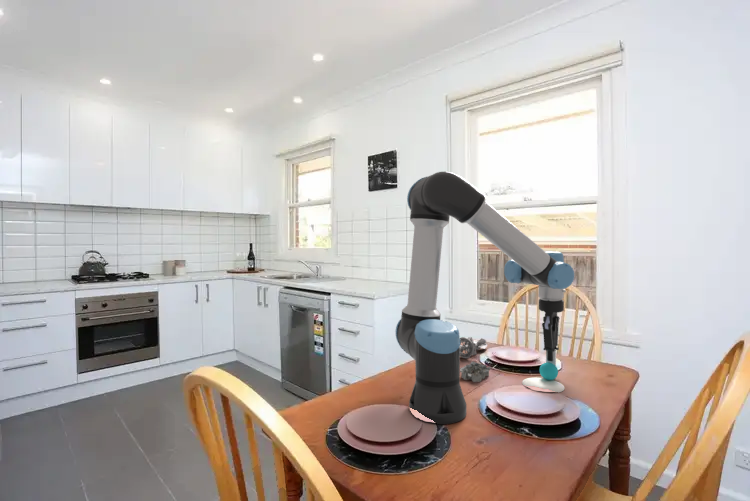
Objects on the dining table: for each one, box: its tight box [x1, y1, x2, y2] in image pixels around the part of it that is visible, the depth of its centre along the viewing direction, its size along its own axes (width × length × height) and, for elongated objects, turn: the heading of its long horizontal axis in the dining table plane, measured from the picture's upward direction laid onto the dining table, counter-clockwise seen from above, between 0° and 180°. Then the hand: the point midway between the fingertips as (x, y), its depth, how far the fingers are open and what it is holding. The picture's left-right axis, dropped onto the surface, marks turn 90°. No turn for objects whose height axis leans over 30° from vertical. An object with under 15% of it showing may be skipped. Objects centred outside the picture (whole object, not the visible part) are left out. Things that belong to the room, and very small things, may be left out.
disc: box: [521, 377, 565, 394], centre depth 120 cm, size 12×12×1 cm
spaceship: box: [460, 336, 488, 359], centre depth 147 cm, size 8×35×8 cm
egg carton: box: [460, 360, 491, 383], centre depth 128 cm, size 10×7×4 cm
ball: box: [539, 361, 559, 380], centre depth 124 cm, size 6×6×6 cm
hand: (551, 369), depth 127 cm, fingers closed
